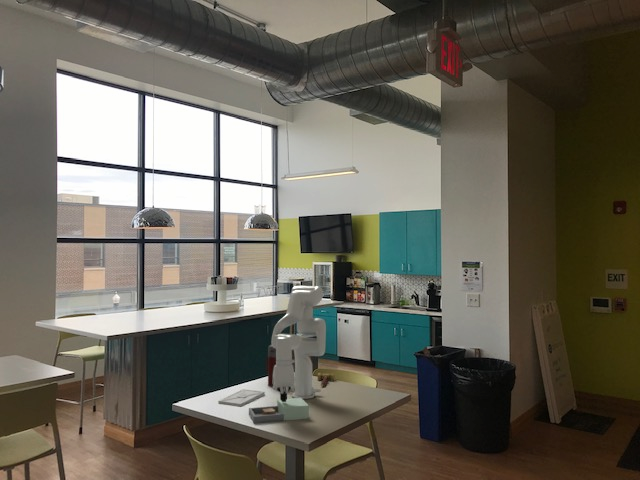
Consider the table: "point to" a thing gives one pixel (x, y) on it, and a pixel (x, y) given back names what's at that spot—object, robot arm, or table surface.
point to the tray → (259, 418)
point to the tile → (268, 411)
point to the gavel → (325, 378)
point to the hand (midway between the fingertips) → (283, 401)
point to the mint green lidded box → (293, 409)
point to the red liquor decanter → (270, 364)
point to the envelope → (241, 397)
